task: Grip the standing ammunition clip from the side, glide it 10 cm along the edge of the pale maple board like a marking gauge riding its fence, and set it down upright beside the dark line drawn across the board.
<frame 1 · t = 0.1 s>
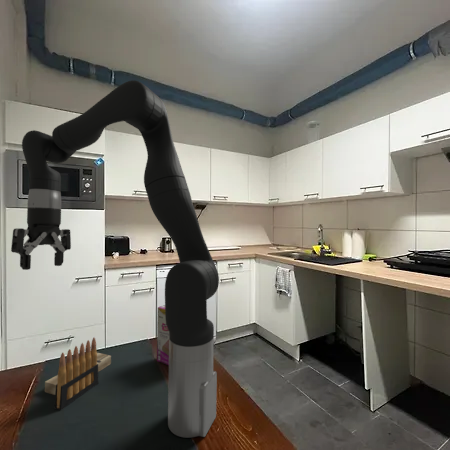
hand: (43, 267, 69), 29 cm above the table, tool pointing down, fingers open, 8 cm apart
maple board: (81, 376, 69), on the table
ammunition clip: (78, 396, 61), on the table
candy bar box: (175, 364, 76), on the table
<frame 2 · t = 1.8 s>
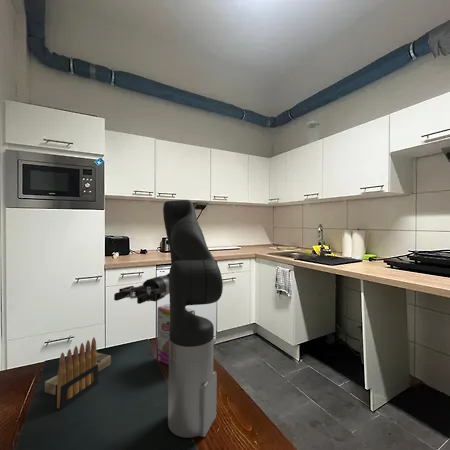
hand: (126, 298, 77), 19 cm above the table, tool horizontal, fingers open, 8 cm apart
nothing on the table moved.
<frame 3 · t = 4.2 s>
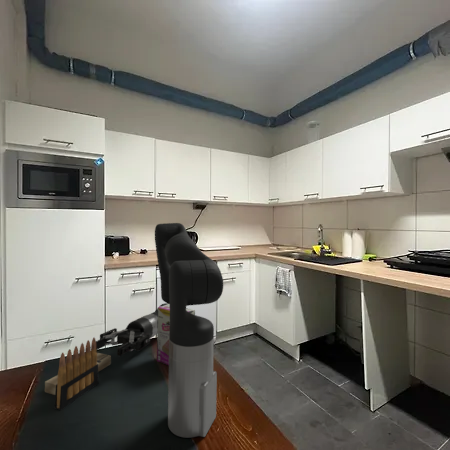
hand: (105, 349, 69), 7 cm above the table, tool horizontal, fingers open, 8 cm apart
nothing on the table moved.
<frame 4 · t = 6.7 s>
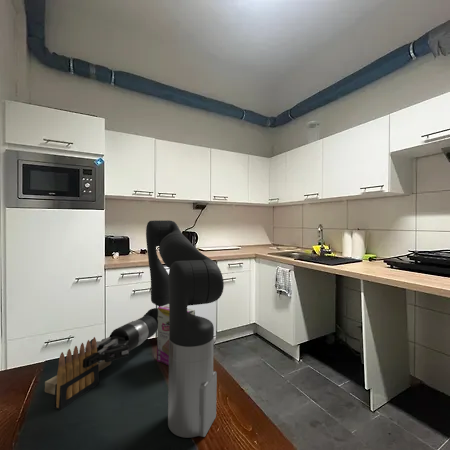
hand: (80, 363, 62), 7 cm above the table, tool horizontal, fingers closed on ammunition clip
ammunition clip: (78, 395, 61), on the table, touching gripper
everything else where it was.
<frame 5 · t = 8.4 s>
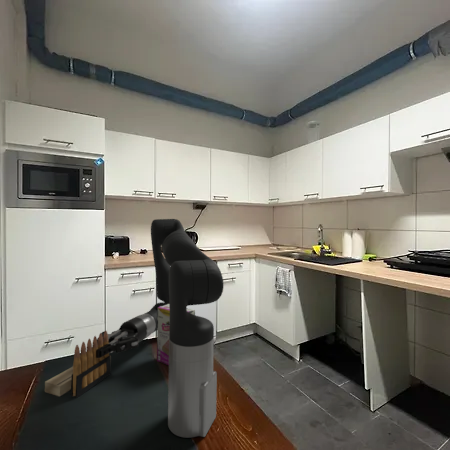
hand: (93, 353, 66), 8 cm above the table, tool horizontal, fingers closed on ammunition clip
ammunition clip: (92, 385, 65), on the table, touching gripper
everything else where it was.
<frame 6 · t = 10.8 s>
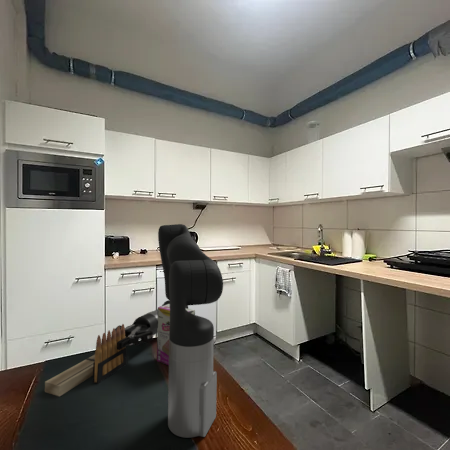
hand: (112, 345, 72), 7 cm above the table, tool horizontal, fingers open, 3 cm apart
ammunition clip: (110, 373, 71), on the table
everything else where it was.
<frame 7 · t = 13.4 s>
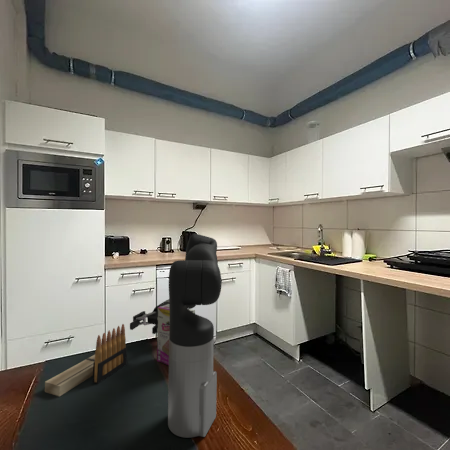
hand: (141, 329, 83), 7 cm above the table, tool horizontal, fingers open, 8 cm apart
nothing on the table moved.
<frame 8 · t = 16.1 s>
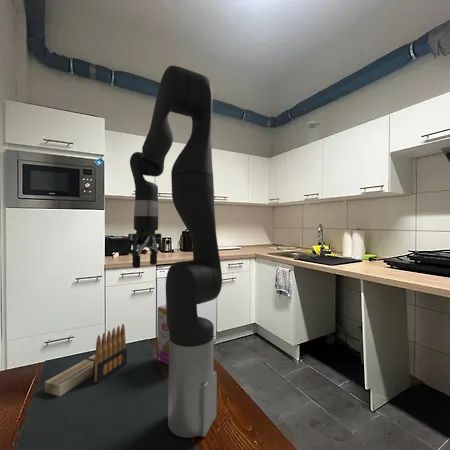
hand: (145, 266, 82), 28 cm above the table, tool pointing down, fingers open, 8 cm apart
nothing on the table moved.
at the end: ammunition clip 0.3 cm from the target spot, on the table; ammunition clip tilted 0°; the gripper is holding nothing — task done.
